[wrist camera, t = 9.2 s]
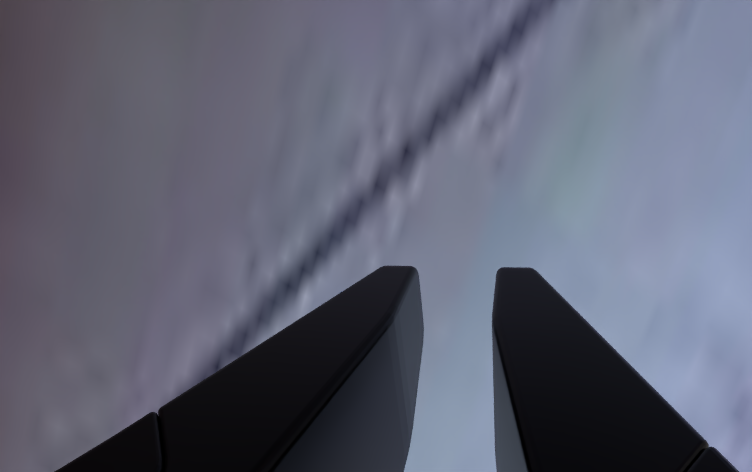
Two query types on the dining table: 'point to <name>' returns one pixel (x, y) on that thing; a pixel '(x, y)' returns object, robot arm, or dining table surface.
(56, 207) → the dining table surface
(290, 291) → the dining table surface
